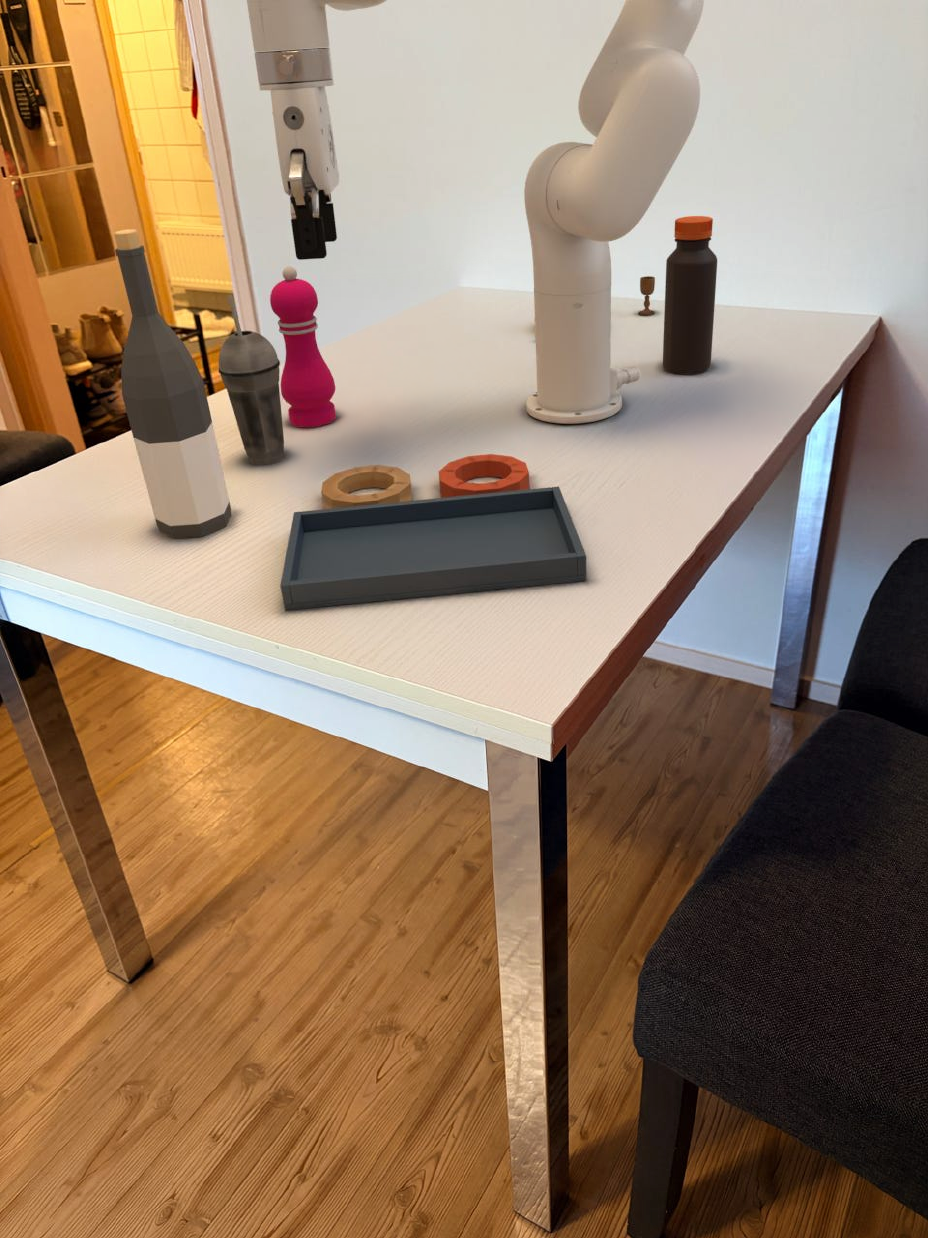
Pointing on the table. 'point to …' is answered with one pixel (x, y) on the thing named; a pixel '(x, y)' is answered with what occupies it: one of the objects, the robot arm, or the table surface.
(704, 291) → the vinegar
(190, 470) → the wine bottle
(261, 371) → the beverage cup
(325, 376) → the pepper mill
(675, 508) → the table surface
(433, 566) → the tray
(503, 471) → the terracotta ring
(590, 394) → the robot arm
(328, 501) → the birch ring
